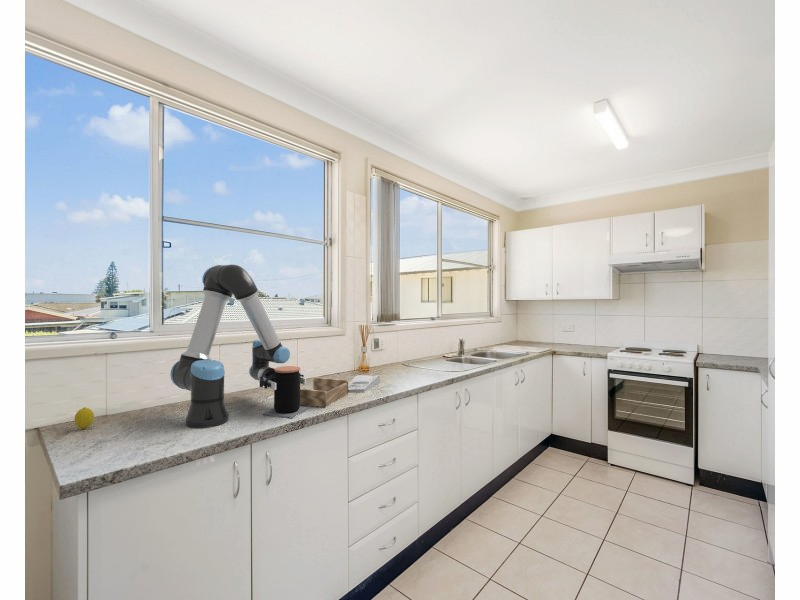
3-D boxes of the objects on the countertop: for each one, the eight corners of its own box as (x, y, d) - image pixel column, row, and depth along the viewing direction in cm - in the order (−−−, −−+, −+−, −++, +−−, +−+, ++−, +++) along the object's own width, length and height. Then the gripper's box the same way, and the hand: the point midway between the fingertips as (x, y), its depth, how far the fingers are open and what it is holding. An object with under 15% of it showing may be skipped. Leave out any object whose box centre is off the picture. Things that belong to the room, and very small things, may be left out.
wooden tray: (348, 394, 194) (348, 380, 194) (325, 407, 171) (325, 391, 171) (314, 390, 200) (314, 377, 200) (287, 403, 176) (287, 388, 176)
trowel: (354, 396, 192) (354, 385, 192) (332, 390, 202) (333, 380, 202) (389, 385, 214) (390, 376, 214) (368, 381, 224) (369, 372, 224)
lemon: (91, 425, 145) (91, 404, 145) (95, 428, 141) (95, 407, 141) (72, 429, 141) (72, 407, 140) (76, 432, 137) (76, 410, 137)
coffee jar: (305, 409, 165) (305, 367, 165) (284, 415, 157) (284, 371, 156) (289, 405, 171) (289, 365, 171) (268, 410, 163) (269, 368, 163)
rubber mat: (292, 418, 155) (292, 416, 155) (262, 414, 159) (262, 413, 159) (310, 408, 169) (310, 407, 169) (282, 405, 173) (282, 404, 173)
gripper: (294, 379, 186) (317, 388, 170) (241, 388, 169) (261, 398, 153) (294, 364, 185) (317, 371, 170) (241, 371, 168) (262, 379, 153)
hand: (291, 384), depth 161 cm, fingers open, 13 cm apart
